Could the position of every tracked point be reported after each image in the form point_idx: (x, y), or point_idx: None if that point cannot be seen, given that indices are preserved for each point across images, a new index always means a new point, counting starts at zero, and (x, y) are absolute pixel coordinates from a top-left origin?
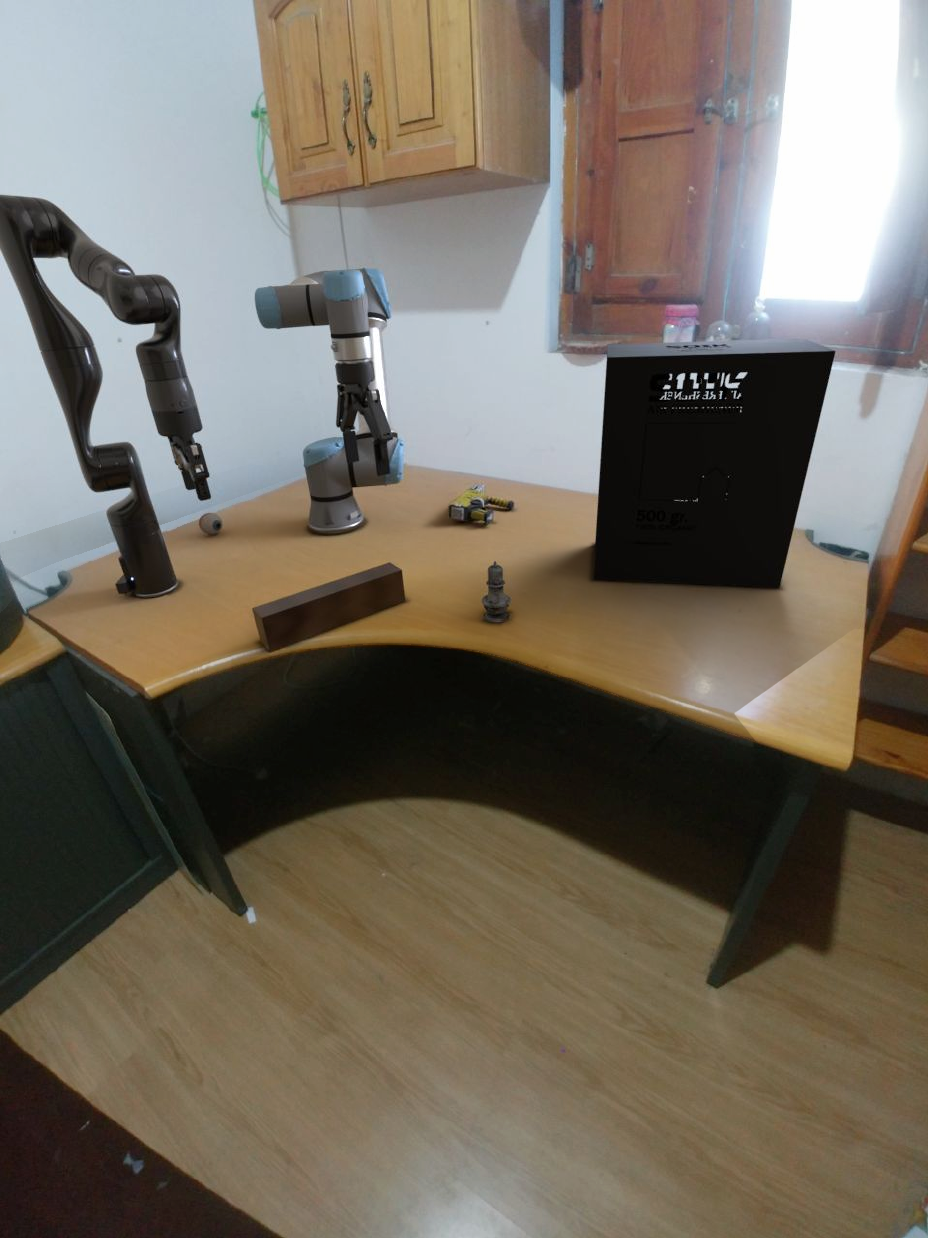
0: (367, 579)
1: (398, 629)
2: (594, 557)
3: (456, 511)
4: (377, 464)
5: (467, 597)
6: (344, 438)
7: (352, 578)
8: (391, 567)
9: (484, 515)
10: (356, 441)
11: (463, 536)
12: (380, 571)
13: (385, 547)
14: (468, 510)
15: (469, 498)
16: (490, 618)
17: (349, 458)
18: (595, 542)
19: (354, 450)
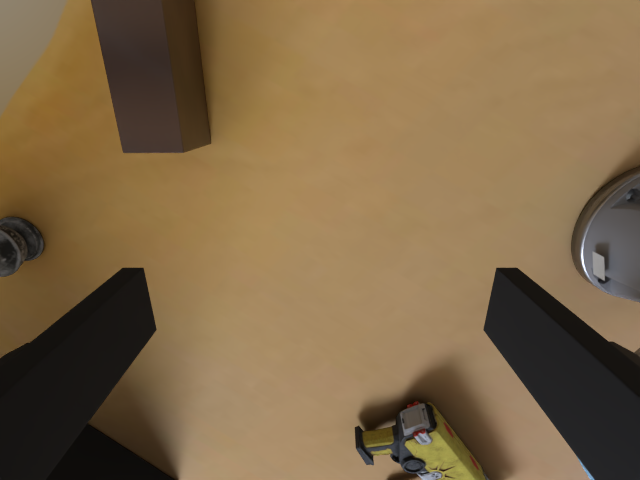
0: (109, 45)
1: (56, 66)
2: (132, 454)
3: (415, 421)
4: (80, 303)
5: (114, 243)
6: (626, 376)
7: (139, 12)
8: (148, 138)
9: (362, 442)
10: (553, 422)
11: (352, 377)
12: (140, 102)
13: (428, 247)
14: (399, 437)
15: (439, 468)
16: (3, 222)
17: (507, 290)
18: (87, 478)
19: (522, 354)
